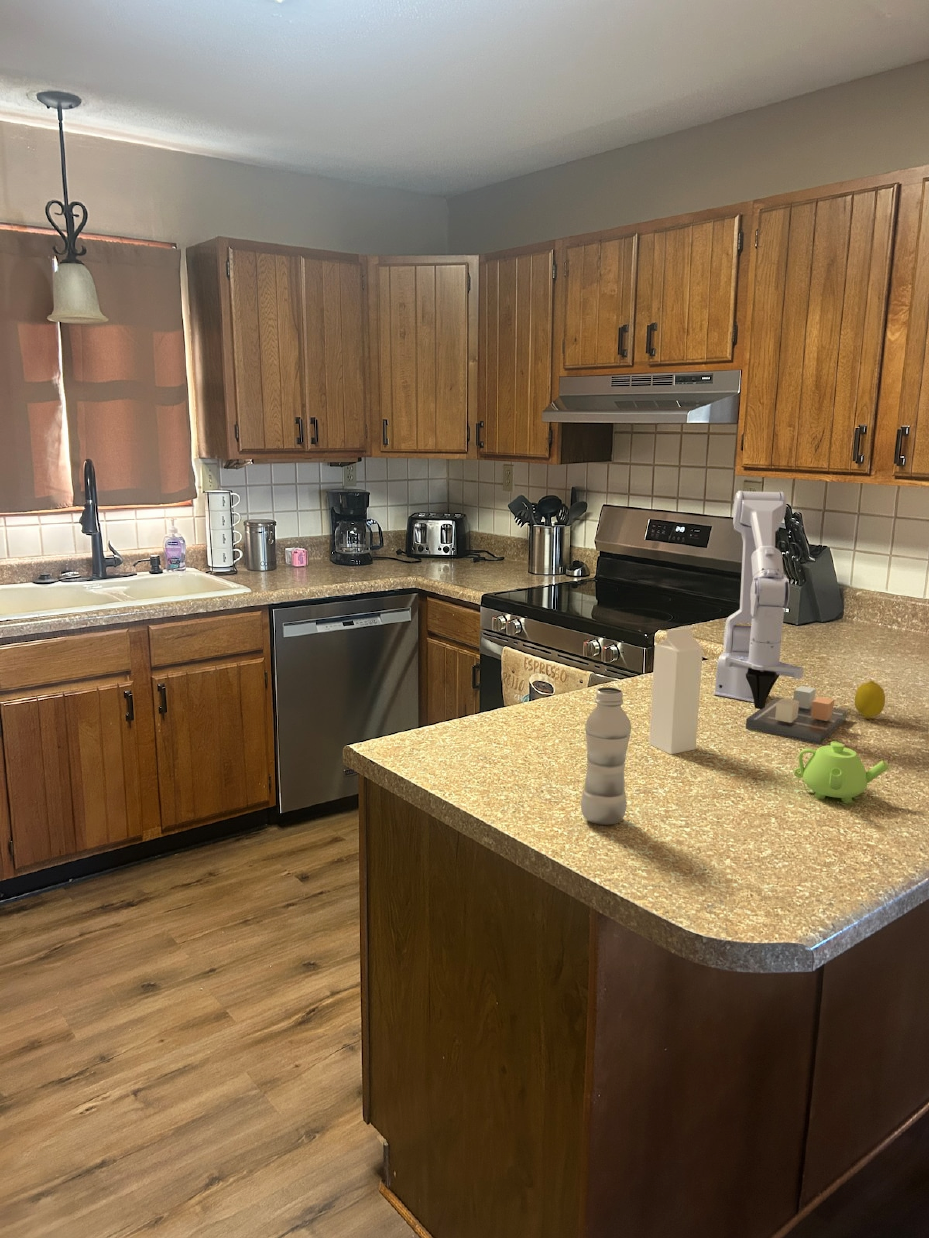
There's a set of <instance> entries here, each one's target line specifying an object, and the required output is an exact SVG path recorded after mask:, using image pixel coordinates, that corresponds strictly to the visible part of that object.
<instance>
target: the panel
mask: <svg viewBox="0 0 929 1238" xmlns="http://www.w3.org/2000/svg"><path fill="white" fill-rule="evenodd" d="M782 699H783V698H780V697H775V698H774V699H772V700H770V701H769V702H768V703H766V705H765V708H763V709H762V710H761V709H757V711H756V712H754V713H753V714H751V715H750V716H748V717H747V718H746V719H745V720H746V721H745V729H746V730H750V731H754V732H760V733H765V734H768V735H769V734H770V735H774V736H779V737H783V738H787V739H788V738H789V739H794V740H798V741H801V742H802V741H803V742H807V743H813V744H817V745H822V743H823V742H825V740H826V739H828V738H829V737H830V736H831V735H832V734H833V733H834V732H835V731H836V730H837V729H839V727H841V725H842V724H844V722H845V721H846V720H847V712H848V711H847V709H840V708H835V707H833V716H832V717H831V718H830V719H828V720H827V721H825V720H819V719H814V718H811V710H812V706H811V707H810V708H809V709H806V708H801V707H798V717H797V718H796V719H795V720H794V721H793V722H791V723H789V722H784V721H779V720H775V715H776V704H777V702H779V701H780V700H782Z"/></svg>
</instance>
